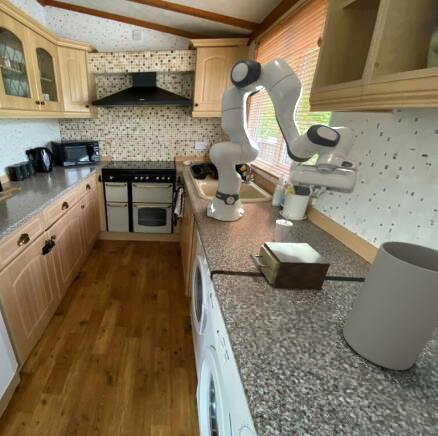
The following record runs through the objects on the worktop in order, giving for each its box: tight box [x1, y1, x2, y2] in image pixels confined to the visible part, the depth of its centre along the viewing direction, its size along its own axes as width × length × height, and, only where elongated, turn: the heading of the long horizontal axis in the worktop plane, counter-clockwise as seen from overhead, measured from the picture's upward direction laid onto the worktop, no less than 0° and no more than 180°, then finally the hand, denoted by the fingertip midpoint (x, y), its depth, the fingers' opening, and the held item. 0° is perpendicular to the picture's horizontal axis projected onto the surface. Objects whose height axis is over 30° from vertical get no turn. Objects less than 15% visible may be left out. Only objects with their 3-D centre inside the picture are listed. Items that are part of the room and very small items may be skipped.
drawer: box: [248, 244, 280, 285], centre depth 81 cm, size 18×11×8 cm, turn 88°
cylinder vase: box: [342, 240, 438, 371], centre depth 53 cm, size 12×12×25 cm
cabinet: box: [263, 241, 331, 290], centre depth 81 cm, size 15×13×10 cm
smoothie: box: [273, 212, 294, 243], centre depth 102 cm, size 6×6×14 cm
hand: (313, 197), depth 90 cm, fingers closed
